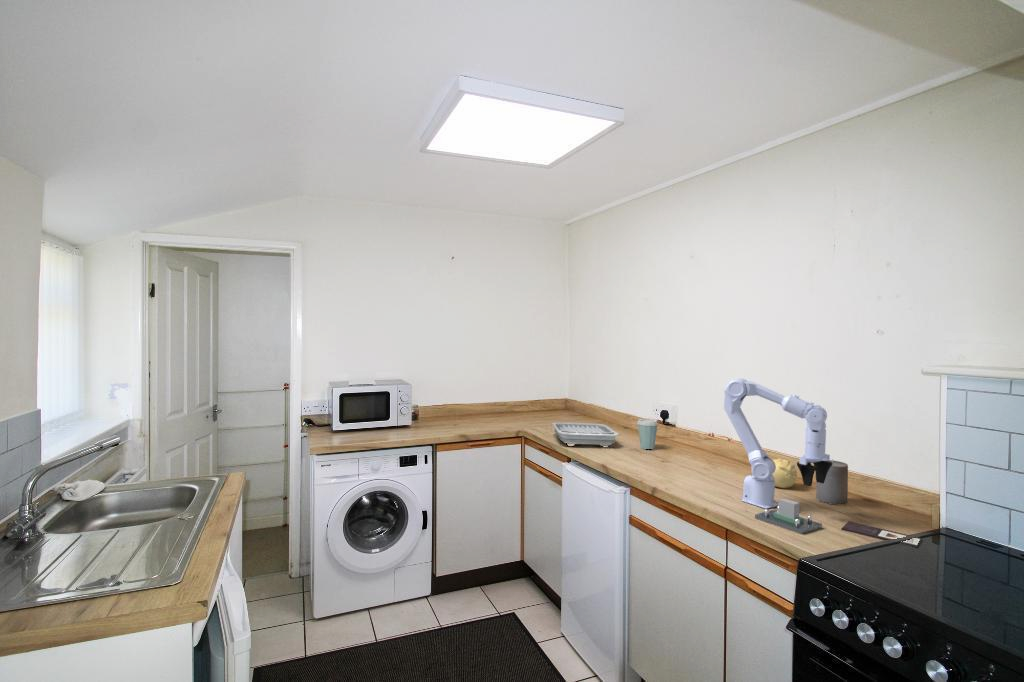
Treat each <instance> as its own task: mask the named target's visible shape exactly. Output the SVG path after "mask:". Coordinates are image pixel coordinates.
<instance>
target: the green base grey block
mask: <svg viewBox="0 0 1024 682" xmlns="http://www.w3.org/2000/svg"><path fill="white" fill-rule="evenodd" d="M778 504H779V506H778V512H775V513H774V516H773V517H776V518H779V519H782V520H785V521H788V522H791V523H794V524H795V519H800V523H802V522H804V517H803V516H800V502H797V501H795V500H791V499H788V498H787V499H786V498H781V499H778Z"/></svg>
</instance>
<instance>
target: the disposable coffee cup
mask: <svg viewBox="0 0 1024 682" xmlns="http://www.w3.org/2000/svg"><path fill="white" fill-rule="evenodd" d="M636 424H637V431H638V437H639V438H638V439H639V445H640V449H641V448H643V449H653V450H654V449H655V444H656V437H657V432H658V425H659V423H658V421H657V419H655V418H640V419H638V421H637V423H636ZM643 449H642V450H643Z"/></svg>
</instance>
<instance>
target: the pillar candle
mask: <svg viewBox="0 0 1024 682" xmlns="http://www.w3.org/2000/svg"><path fill="white" fill-rule="evenodd" d="M828 462H832V466H831V467H830V469H829V470H828V473H827V475H826V478H825V481H824V483H819V482H817V481H816V480H815V482H816V483H815V484H816V485H815V486H816V488H815V499H816V500H817V499H818V500H819V501H818V500H817V501H818V502H821V501H822V503H825V502H826V503H825V504H828V503H831V504H830V505H834V504H844V505H847V504H848V496H849V495H848V492H849V487H848V486H849V484H848V483H849V465H848V464H847V462H844V461H838V460H834V459H832V460H831V459H830V460H829V461H828ZM846 503H847V504H846Z"/></svg>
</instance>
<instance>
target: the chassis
mask: <svg viewBox="0 0 1024 682" xmlns="http://www.w3.org/2000/svg"><path fill="white" fill-rule="evenodd" d="M776 508H777V509H776ZM776 508H775V509H771V510H769V508H767V509H765V508H764V512H760V513H756V514H754V519H756V518H757V520H759V519H760V520H759V521H763V522H765V523H768V524H770V525H773V524H774V526H776V525H777V527H779V526H780V528H782V527H783V529H786V530H788V531H792V532H794V533H797V534H800V535H804V534H807V533H811V532H814V531H817V530H820V529H823V523H820V522H818V521H817V522H816V521H814V520H813V515H811V514H807V518H804V517H803V518H804V522H802V523H800V519H795V524H794V523H791V522H788V521H785V520H782V519H779V518H776V517H773V516H774V513H775V512H778V506H776Z"/></svg>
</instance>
